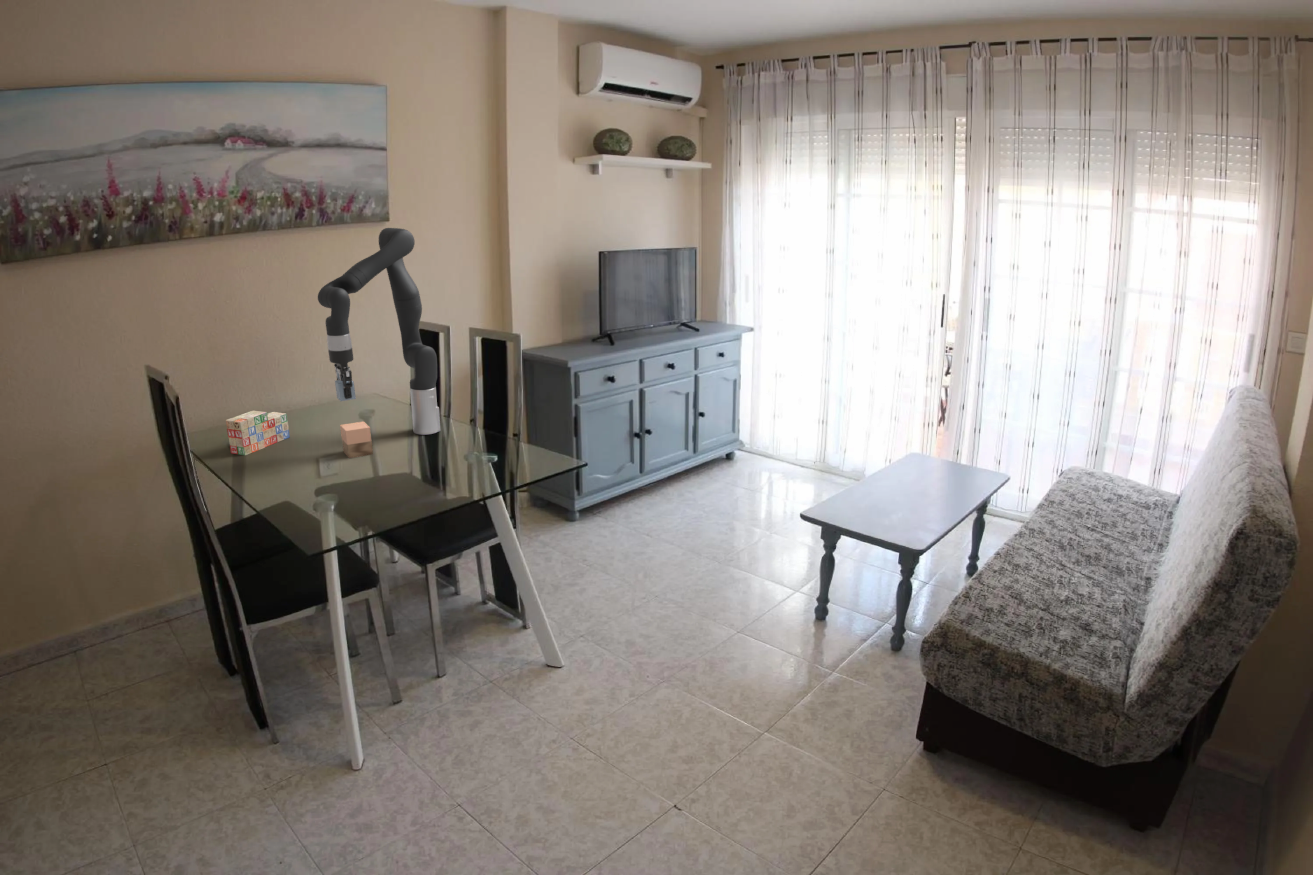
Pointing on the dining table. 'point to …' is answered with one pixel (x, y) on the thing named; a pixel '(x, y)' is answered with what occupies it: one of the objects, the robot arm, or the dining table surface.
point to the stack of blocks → (256, 431)
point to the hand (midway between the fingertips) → (346, 396)
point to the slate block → (341, 391)
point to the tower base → (358, 449)
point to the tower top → (355, 433)
